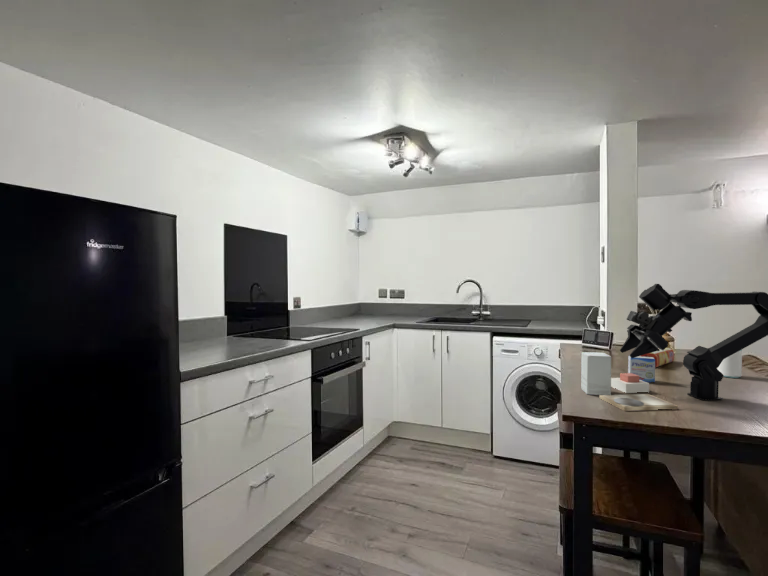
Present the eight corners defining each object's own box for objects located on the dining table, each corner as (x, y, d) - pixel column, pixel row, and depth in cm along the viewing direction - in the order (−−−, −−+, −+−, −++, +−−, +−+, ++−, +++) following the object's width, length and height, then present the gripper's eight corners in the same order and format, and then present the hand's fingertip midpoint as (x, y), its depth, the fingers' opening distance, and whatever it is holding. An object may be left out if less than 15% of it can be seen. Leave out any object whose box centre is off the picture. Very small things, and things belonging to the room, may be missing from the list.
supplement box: (611, 395, 133) (612, 356, 133) (586, 394, 135) (586, 355, 135) (604, 389, 141) (604, 352, 140) (580, 388, 142) (580, 351, 142)
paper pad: (648, 397, 132) (648, 393, 132) (677, 409, 120) (677, 404, 120) (599, 398, 131) (599, 394, 131) (624, 410, 119) (624, 406, 119)
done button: (631, 381, 143) (631, 373, 143) (639, 384, 139) (639, 375, 139) (620, 382, 143) (620, 373, 142) (627, 385, 139) (627, 376, 138)
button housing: (632, 386, 145) (633, 377, 145) (649, 392, 137) (649, 383, 137) (610, 386, 144) (610, 377, 144) (625, 393, 136) (625, 383, 136)
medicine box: (629, 381, 152) (630, 357, 152) (627, 378, 156) (628, 355, 156) (655, 383, 149) (655, 358, 149) (652, 380, 153) (652, 356, 153)
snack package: (658, 360, 189) (658, 345, 189) (675, 362, 184) (675, 347, 184) (639, 366, 176) (639, 350, 176) (657, 369, 171) (657, 353, 171)
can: (746, 378, 155) (747, 346, 154) (727, 378, 155) (727, 346, 154) (731, 374, 162) (731, 343, 161) (712, 374, 162) (713, 343, 162)
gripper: (634, 300, 143) (598, 332, 146) (656, 304, 125) (615, 340, 128) (659, 324, 141) (623, 355, 144) (686, 331, 123) (644, 367, 126)
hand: (625, 354), depth 136 cm, fingers open, 9 cm apart
